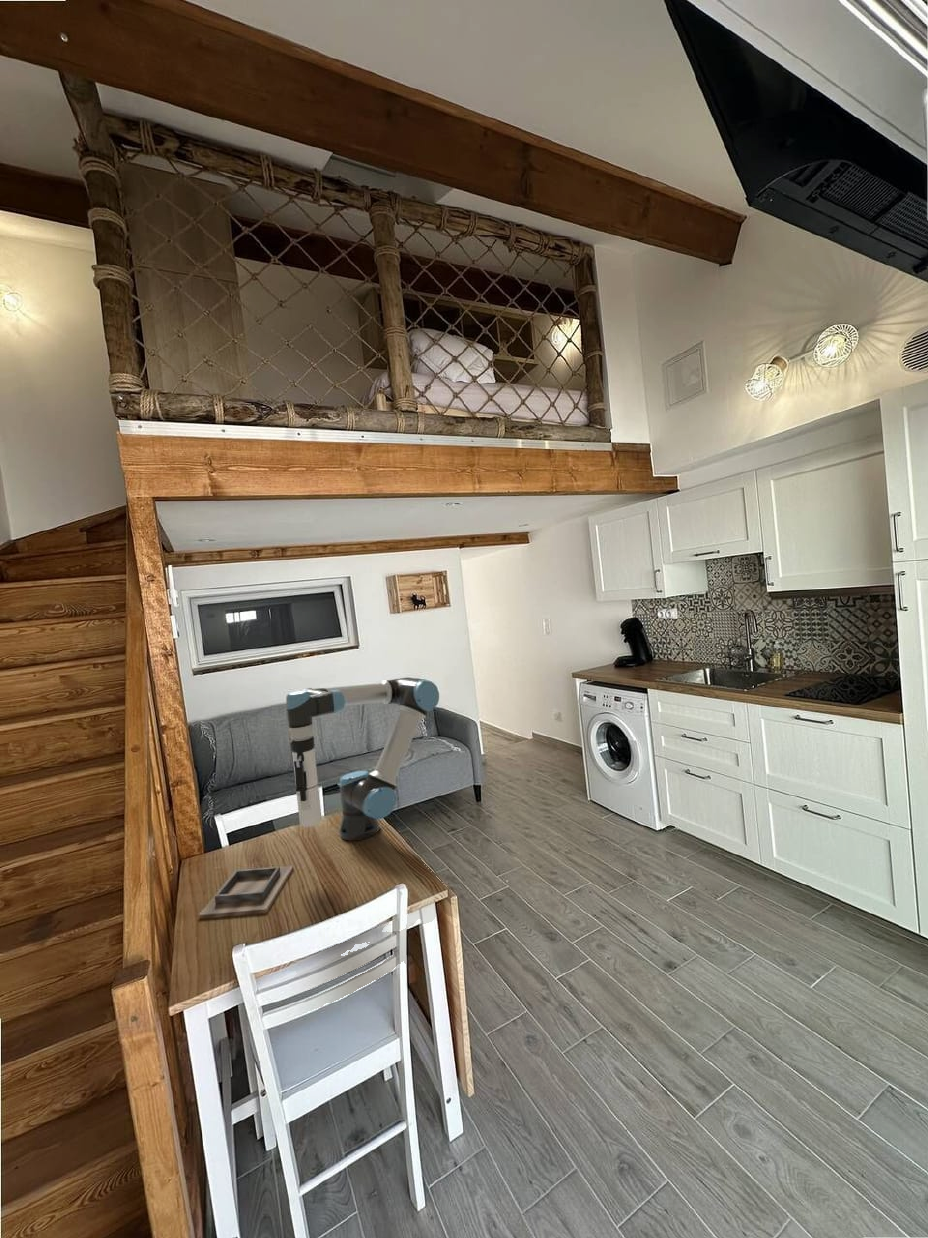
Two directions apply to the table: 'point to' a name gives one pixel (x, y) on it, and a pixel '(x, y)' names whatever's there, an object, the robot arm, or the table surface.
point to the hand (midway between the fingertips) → (309, 804)
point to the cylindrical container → (309, 791)
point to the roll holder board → (247, 892)
